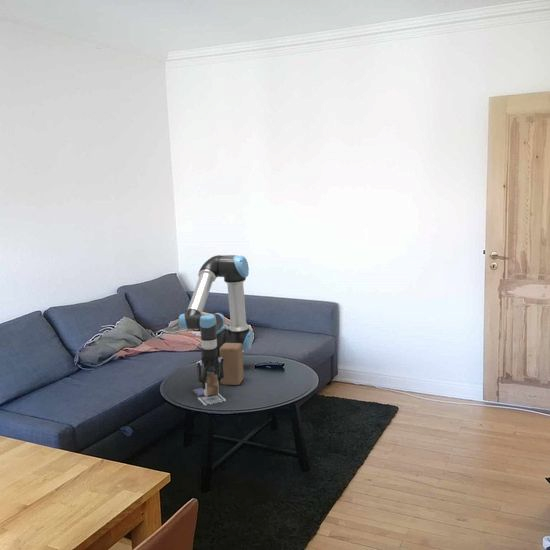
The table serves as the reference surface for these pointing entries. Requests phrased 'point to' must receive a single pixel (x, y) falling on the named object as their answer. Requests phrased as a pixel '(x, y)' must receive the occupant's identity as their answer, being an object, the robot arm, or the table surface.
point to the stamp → (212, 384)
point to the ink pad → (199, 392)
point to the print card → (211, 399)
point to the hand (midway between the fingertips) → (211, 393)
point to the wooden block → (232, 363)
